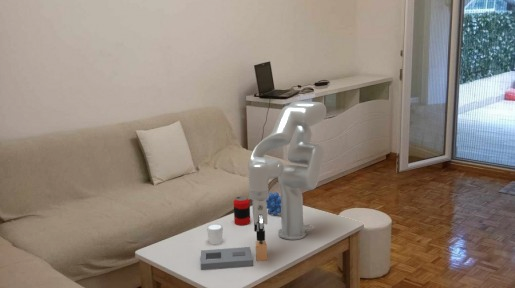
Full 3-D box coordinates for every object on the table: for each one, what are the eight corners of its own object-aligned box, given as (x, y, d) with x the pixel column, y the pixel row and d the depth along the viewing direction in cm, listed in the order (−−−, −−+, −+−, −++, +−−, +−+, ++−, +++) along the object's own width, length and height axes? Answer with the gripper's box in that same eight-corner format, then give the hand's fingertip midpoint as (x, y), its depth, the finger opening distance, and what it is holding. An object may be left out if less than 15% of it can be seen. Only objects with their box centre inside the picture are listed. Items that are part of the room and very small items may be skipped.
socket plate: (250, 252, 204) (250, 246, 204) (252, 265, 193) (252, 259, 192) (201, 256, 203) (201, 250, 202) (201, 269, 191) (200, 263, 190)
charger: (266, 255, 201) (265, 237, 199) (267, 260, 197) (266, 241, 195) (256, 256, 201) (255, 238, 199) (257, 260, 197) (256, 242, 195)
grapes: (289, 215, 243) (289, 191, 241) (281, 219, 238) (280, 195, 236) (270, 210, 251) (270, 187, 248) (262, 214, 246) (261, 191, 243)
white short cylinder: (226, 239, 218) (225, 224, 216) (219, 246, 211) (219, 230, 210) (211, 237, 220) (210, 223, 218) (205, 244, 214) (204, 229, 212)
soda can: (241, 218, 241) (239, 194, 239) (253, 221, 237) (252, 197, 234) (231, 223, 235) (230, 199, 233) (243, 226, 231) (242, 202, 228)
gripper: (271, 200, 184) (271, 243, 188) (265, 187, 201) (266, 227, 205) (251, 201, 184) (251, 244, 187) (247, 188, 201) (248, 228, 204)
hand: (259, 235), depth 196 cm, fingers open, 9 cm apart
